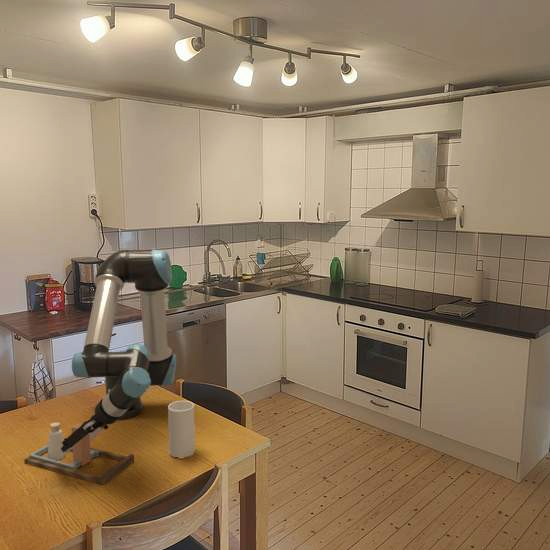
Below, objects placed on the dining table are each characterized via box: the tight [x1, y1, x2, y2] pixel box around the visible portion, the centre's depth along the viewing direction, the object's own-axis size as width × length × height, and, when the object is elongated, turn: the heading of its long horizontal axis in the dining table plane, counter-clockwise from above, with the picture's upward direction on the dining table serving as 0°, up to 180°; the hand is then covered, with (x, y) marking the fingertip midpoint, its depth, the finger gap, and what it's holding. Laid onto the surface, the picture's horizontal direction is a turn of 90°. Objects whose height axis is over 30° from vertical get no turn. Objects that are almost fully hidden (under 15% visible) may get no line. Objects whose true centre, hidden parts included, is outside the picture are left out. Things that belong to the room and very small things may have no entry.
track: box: [24, 447, 135, 486], centre depth 158 cm, size 31×14×2 cm, turn 67°
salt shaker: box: [47, 422, 66, 461], centre depth 161 cm, size 5×5×11 cm
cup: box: [167, 400, 196, 458], centre depth 164 cm, size 8×8×16 cm
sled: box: [28, 422, 100, 471], centre depth 160 cm, size 18×11×12 cm, turn 67°
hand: (75, 445), depth 158 cm, fingers open, 12 cm apart
